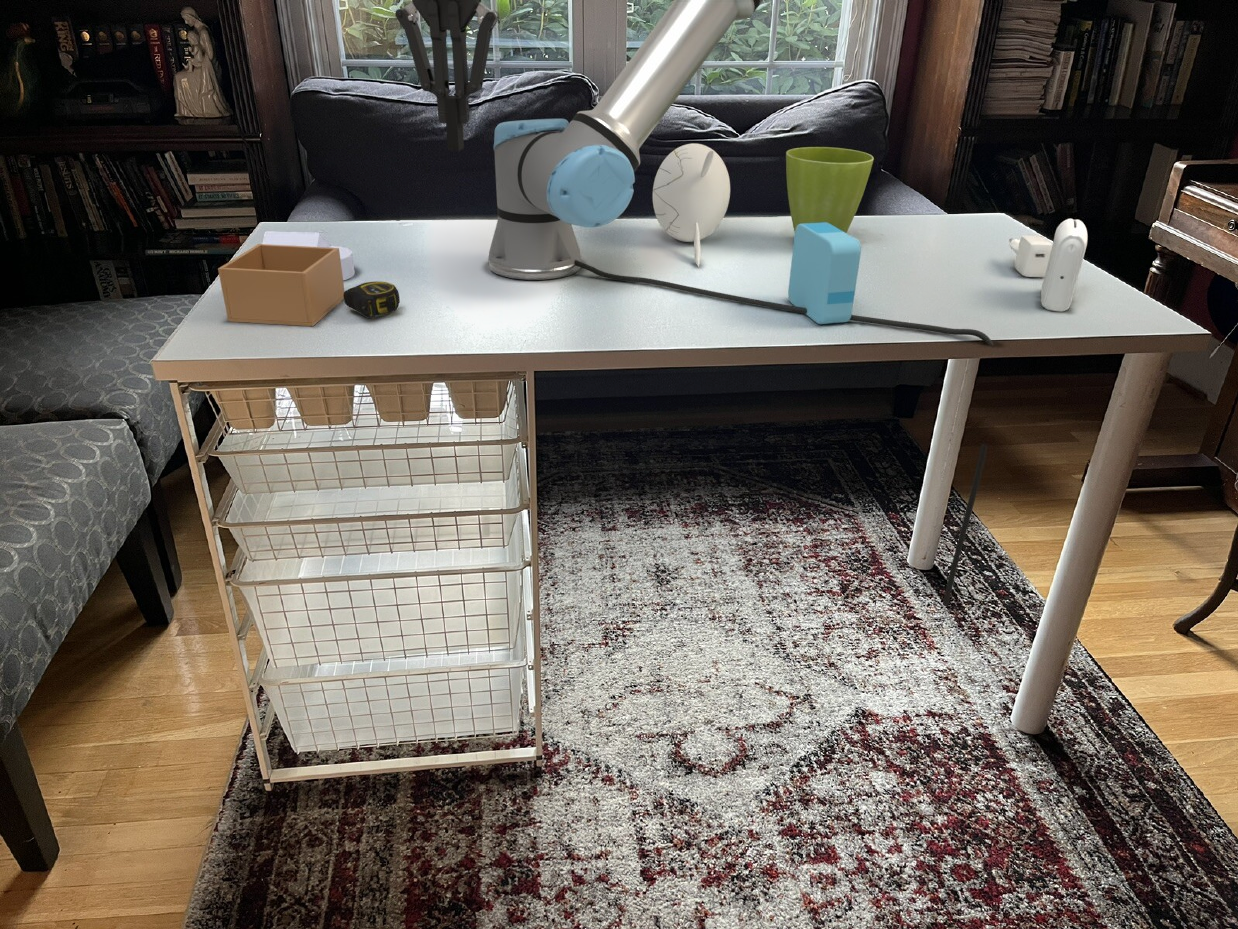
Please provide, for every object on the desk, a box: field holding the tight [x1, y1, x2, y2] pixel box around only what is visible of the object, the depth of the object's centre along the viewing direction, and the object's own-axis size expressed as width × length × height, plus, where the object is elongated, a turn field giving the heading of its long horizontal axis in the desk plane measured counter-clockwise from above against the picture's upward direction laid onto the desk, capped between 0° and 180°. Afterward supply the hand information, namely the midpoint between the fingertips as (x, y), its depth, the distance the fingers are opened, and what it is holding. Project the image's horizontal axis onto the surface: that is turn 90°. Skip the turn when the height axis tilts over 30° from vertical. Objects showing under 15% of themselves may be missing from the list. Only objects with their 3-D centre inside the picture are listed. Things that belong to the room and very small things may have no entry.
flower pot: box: [785, 146, 875, 234], centre depth 162 cm, size 15×15×16 cm
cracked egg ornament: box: [652, 143, 731, 268], centre depth 161 cm, size 19×14×25 cm
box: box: [217, 243, 346, 327], centre depth 130 cm, size 12×12×8 cm
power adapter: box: [1008, 234, 1053, 278], centre depth 155 cm, size 11×5×6 cm, turn 176°
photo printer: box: [1040, 218, 1088, 312], centre depth 139 cm, size 10×4×12 cm, turn 158°
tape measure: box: [343, 281, 401, 319], centre depth 130 cm, size 7×7×4 cm
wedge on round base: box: [261, 230, 356, 281], centre depth 145 cm, size 9×7×13 cm
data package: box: [787, 222, 862, 325], centre depth 132 cm, size 12×4×12 cm, turn 15°
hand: (456, 148), depth 122 cm, fingers closed
